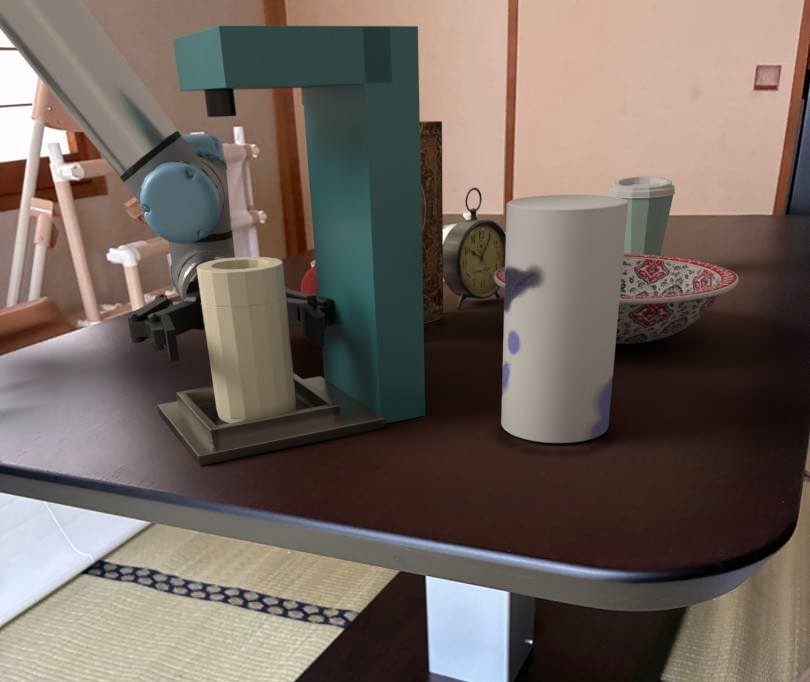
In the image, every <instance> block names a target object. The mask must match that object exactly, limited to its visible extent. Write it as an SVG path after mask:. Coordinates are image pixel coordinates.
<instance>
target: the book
mask: <svg viewBox="0 0 810 682" xmlns="http://www.w3.org/2000/svg"><path fill="white" fill-rule="evenodd" d="M420 162H421V215H422V268H423V321H424V325H426V324H429V323H432V322H436V321H439V320H442V319H444V281H443V226H444V224H443V223H444V222H443V221H444V220H443V219H444V218H443V214H444V213H443V212H444V209H443V208H444V207H443V202H444V201H443V197H444V196H443V121H440V120H425V121H423V120H422V121H421V120H420Z"/></svg>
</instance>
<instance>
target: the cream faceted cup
mask: <svg viewBox="0 0 810 682" xmlns="http://www.w3.org/2000/svg"><path fill="white" fill-rule="evenodd" d="M197 274H198V281H199V288H200V295H201V301H202V302H201V303H202V310H203V317H204V324H205V330H204V331H205V337H206V344H207V345H206V346H207V351H208V358H209V366H210V372H211V380H212V386H213V388H214V395H215V402H216V409H217V411H218V417H219V418H220V419H221V420H222V421H224V422H227V423H234V422H239V421H245V420H250V419H255V418H260V417H266V416H271V415H276V414H282V413H287V412H292V411H296V396H295V386H294V375H293V373H294V365H293V355H292V344H291V343H292V342H291V333H290V325H289V322H288V312H287V301H286V290H285V287H286V281H285V271H284V261H283V260H282V259H279V258H277V257H267V256H242V257H241V256H239V257H236V256H235V258H226V259H218V260H213V261H208V262H205V263H202V264H200V265H198V267H197Z"/></svg>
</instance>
